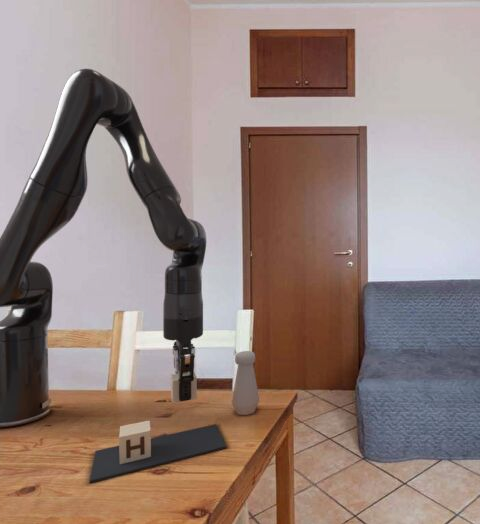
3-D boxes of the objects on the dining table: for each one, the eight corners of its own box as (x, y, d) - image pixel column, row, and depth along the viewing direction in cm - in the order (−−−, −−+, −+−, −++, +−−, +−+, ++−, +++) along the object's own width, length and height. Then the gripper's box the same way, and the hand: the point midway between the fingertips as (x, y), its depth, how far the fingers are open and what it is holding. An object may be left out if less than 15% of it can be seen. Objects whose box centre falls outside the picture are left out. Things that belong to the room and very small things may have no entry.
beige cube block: (172, 403, 74) (172, 381, 74) (170, 395, 78) (170, 374, 78) (196, 399, 77) (196, 377, 76) (193, 391, 81) (193, 371, 80)
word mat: (89, 483, 56) (89, 480, 56) (95, 453, 65) (95, 450, 65) (226, 448, 66) (226, 445, 66) (215, 425, 75) (215, 424, 75)
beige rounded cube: (119, 464, 60) (119, 437, 60) (120, 451, 64) (120, 426, 64) (151, 457, 62) (150, 430, 62) (150, 445, 66) (149, 420, 66)
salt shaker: (251, 418, 78) (251, 356, 78) (226, 415, 79) (226, 355, 79) (263, 406, 84) (263, 349, 84) (240, 405, 85) (239, 348, 85)
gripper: (161, 310, 81) (161, 388, 82) (165, 321, 69) (166, 412, 69) (197, 308, 85) (197, 382, 85) (208, 318, 73) (208, 404, 73)
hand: (183, 395), depth 77 cm, fingers closed on beige cube block, 4 cm apart
